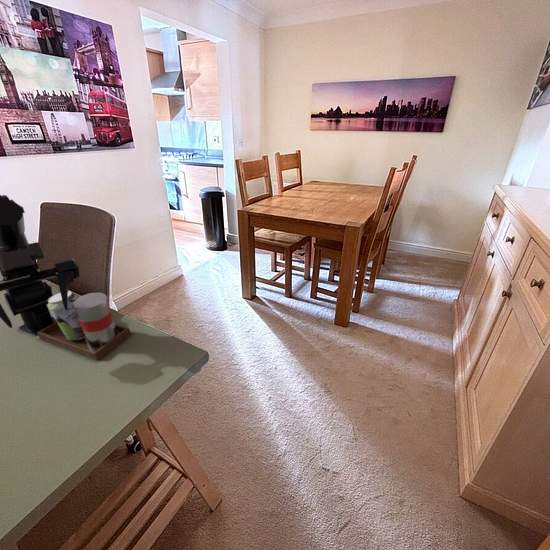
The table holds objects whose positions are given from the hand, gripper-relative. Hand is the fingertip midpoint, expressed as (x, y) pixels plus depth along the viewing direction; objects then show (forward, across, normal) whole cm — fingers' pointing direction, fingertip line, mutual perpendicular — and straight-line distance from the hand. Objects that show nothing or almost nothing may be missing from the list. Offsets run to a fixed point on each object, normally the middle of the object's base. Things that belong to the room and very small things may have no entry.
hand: (40, 318), depth 60 cm
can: (+8, +10, +12) cm, 17 cm away
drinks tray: (+4, +7, +15) cm, 17 cm away
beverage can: (+3, +5, +16) cm, 17 cm away
